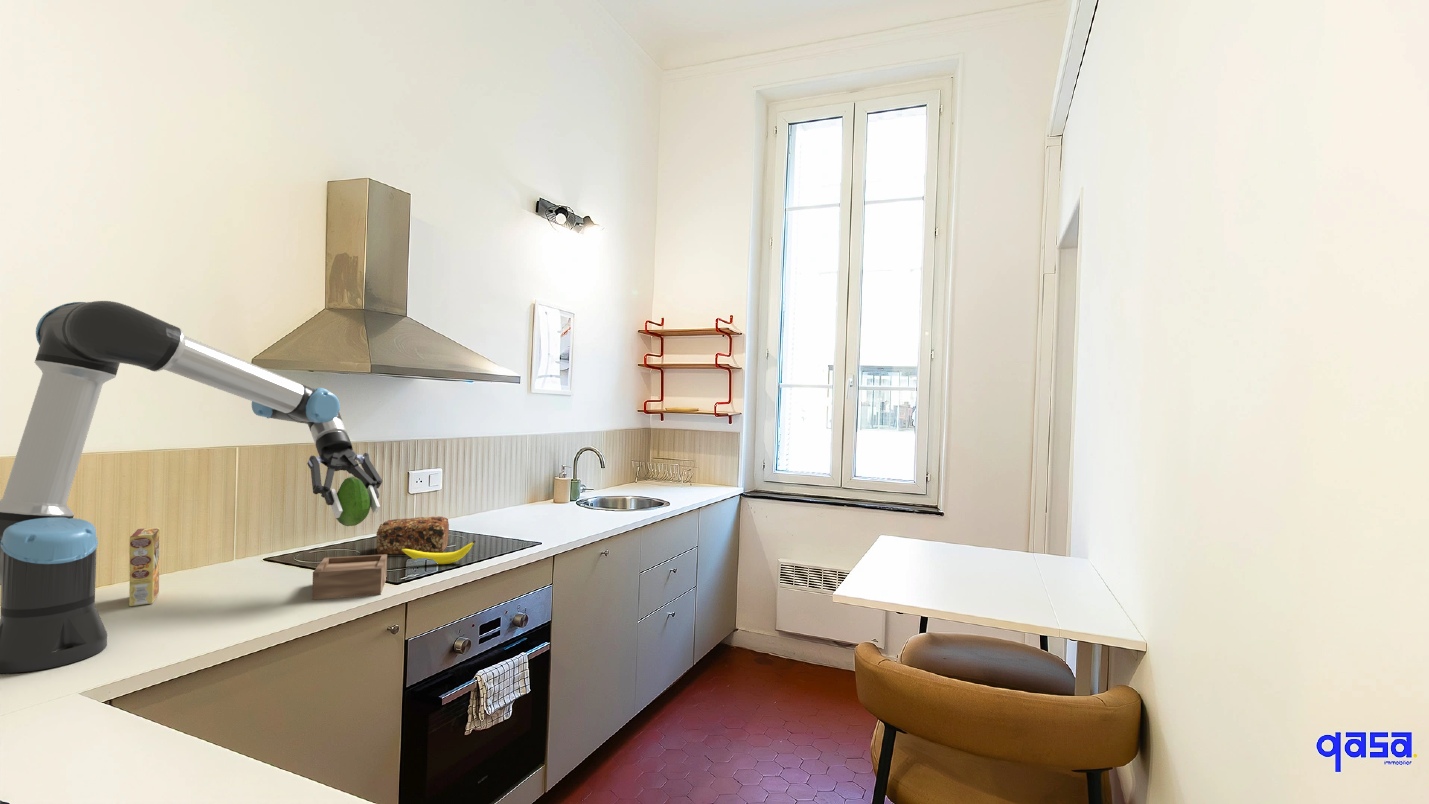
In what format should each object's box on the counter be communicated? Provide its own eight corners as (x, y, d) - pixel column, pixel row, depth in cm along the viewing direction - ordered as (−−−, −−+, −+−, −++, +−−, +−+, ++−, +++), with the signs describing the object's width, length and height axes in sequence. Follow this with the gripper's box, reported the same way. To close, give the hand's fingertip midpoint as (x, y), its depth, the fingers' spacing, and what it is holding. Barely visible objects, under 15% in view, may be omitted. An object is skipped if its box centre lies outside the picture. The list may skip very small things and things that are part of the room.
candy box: (153, 604, 143) (154, 534, 143) (127, 607, 141) (129, 536, 141) (159, 593, 151) (161, 526, 150) (135, 596, 148) (136, 528, 148)
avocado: (345, 530, 153) (346, 479, 153) (325, 526, 157) (326, 476, 156) (377, 525, 160) (378, 476, 160) (358, 521, 164) (359, 473, 163)
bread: (449, 546, 205) (450, 514, 205) (442, 554, 194) (443, 520, 194) (384, 547, 201) (385, 514, 201) (374, 555, 190) (375, 521, 190)
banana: (401, 565, 180) (402, 542, 180) (474, 561, 187) (475, 539, 187) (400, 568, 178) (401, 545, 178) (475, 564, 184) (475, 541, 184)
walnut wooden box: (380, 594, 155) (381, 568, 155) (312, 599, 150) (312, 572, 150) (386, 578, 168) (387, 554, 168) (323, 582, 163) (324, 557, 163)
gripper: (369, 447, 176) (396, 516, 166) (281, 451, 159) (305, 527, 150) (378, 428, 172) (407, 497, 162) (289, 431, 156) (315, 507, 146)
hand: (358, 512), depth 156 cm, fingers closed on avocado, 8 cm apart
